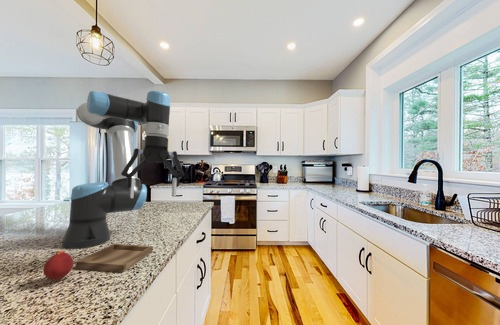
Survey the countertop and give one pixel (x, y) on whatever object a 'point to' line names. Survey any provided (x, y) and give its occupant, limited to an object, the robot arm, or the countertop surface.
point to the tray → (115, 258)
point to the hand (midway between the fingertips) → (153, 196)
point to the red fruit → (58, 266)
